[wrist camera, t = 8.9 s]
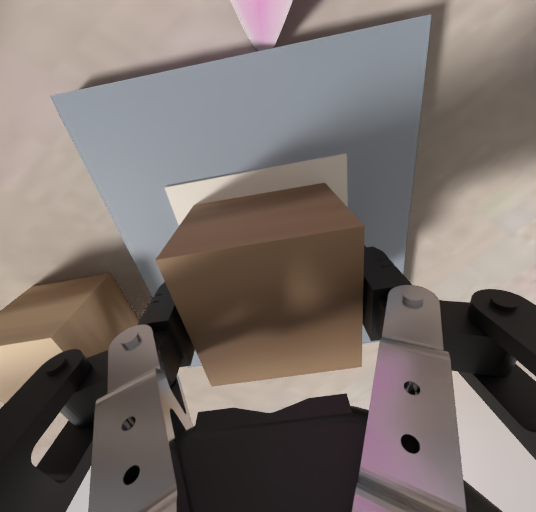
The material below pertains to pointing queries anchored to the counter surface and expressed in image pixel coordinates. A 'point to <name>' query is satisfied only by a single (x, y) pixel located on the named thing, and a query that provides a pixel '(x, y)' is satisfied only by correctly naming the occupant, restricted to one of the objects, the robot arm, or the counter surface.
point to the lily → (262, 20)
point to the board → (259, 135)
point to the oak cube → (59, 325)
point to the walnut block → (269, 284)
